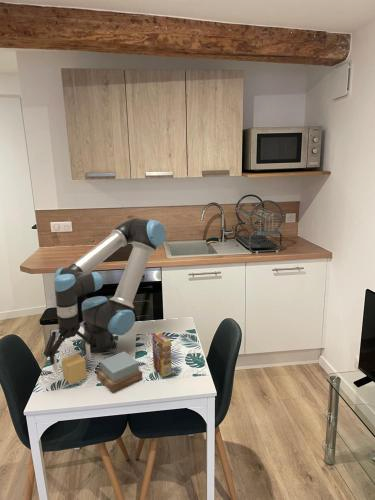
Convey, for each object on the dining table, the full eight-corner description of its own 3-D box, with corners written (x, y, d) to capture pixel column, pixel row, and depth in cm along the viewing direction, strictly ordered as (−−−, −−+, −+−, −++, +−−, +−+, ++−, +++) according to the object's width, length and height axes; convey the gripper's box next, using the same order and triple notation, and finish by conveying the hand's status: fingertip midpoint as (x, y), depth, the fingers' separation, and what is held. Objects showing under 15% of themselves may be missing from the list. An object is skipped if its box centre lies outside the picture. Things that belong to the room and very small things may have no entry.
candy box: (172, 374, 143) (171, 340, 139) (163, 377, 141) (161, 343, 137) (162, 364, 150) (160, 331, 147) (153, 367, 148) (151, 334, 144)
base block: (97, 379, 142) (96, 370, 141) (125, 367, 150) (124, 358, 149) (113, 394, 132) (112, 385, 131) (142, 380, 140) (141, 371, 139)
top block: (100, 369, 141) (99, 361, 140) (125, 359, 148) (124, 351, 147) (113, 382, 133) (112, 373, 132) (138, 371, 140) (138, 362, 139)
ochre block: (63, 376, 143) (61, 359, 141) (79, 370, 147) (78, 353, 146) (70, 384, 138) (67, 366, 136) (87, 377, 142) (85, 359, 140)
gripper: (37, 327, 125) (43, 380, 130) (102, 308, 141) (105, 357, 146) (31, 320, 131) (37, 371, 136) (93, 303, 147) (97, 350, 151)
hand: (72, 364), depth 141 cm, fingers open, 13 cm apart
